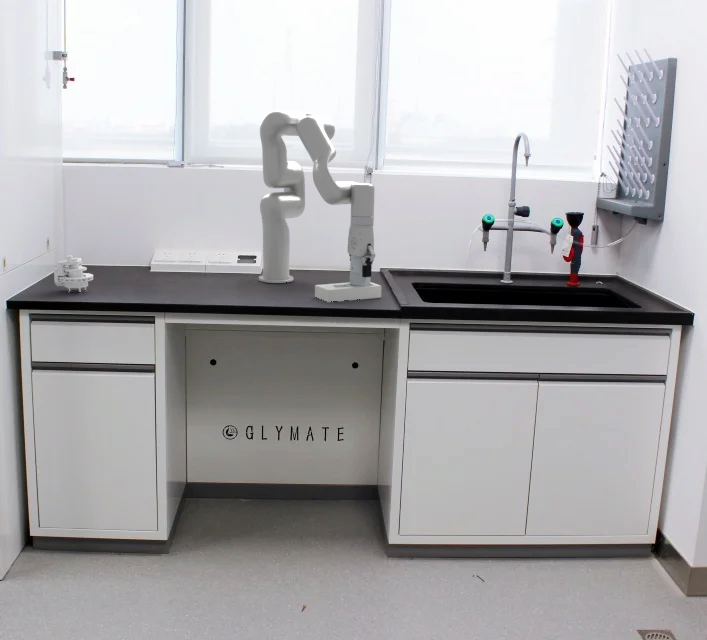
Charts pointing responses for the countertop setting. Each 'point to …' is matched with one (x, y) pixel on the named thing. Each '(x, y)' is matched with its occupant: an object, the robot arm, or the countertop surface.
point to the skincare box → (357, 271)
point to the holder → (347, 291)
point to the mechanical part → (71, 274)
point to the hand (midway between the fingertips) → (360, 274)
